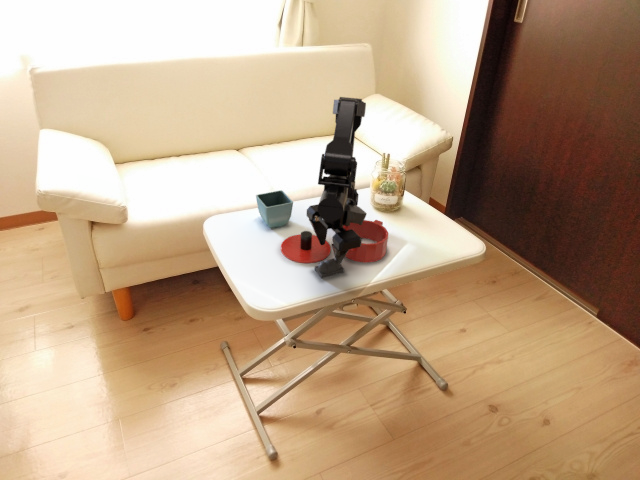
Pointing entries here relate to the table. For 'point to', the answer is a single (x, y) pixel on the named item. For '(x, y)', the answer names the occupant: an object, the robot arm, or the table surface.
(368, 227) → the pot
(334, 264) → the grey lumpy block
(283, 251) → the lid
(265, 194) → the flower pot
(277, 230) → the table surface
